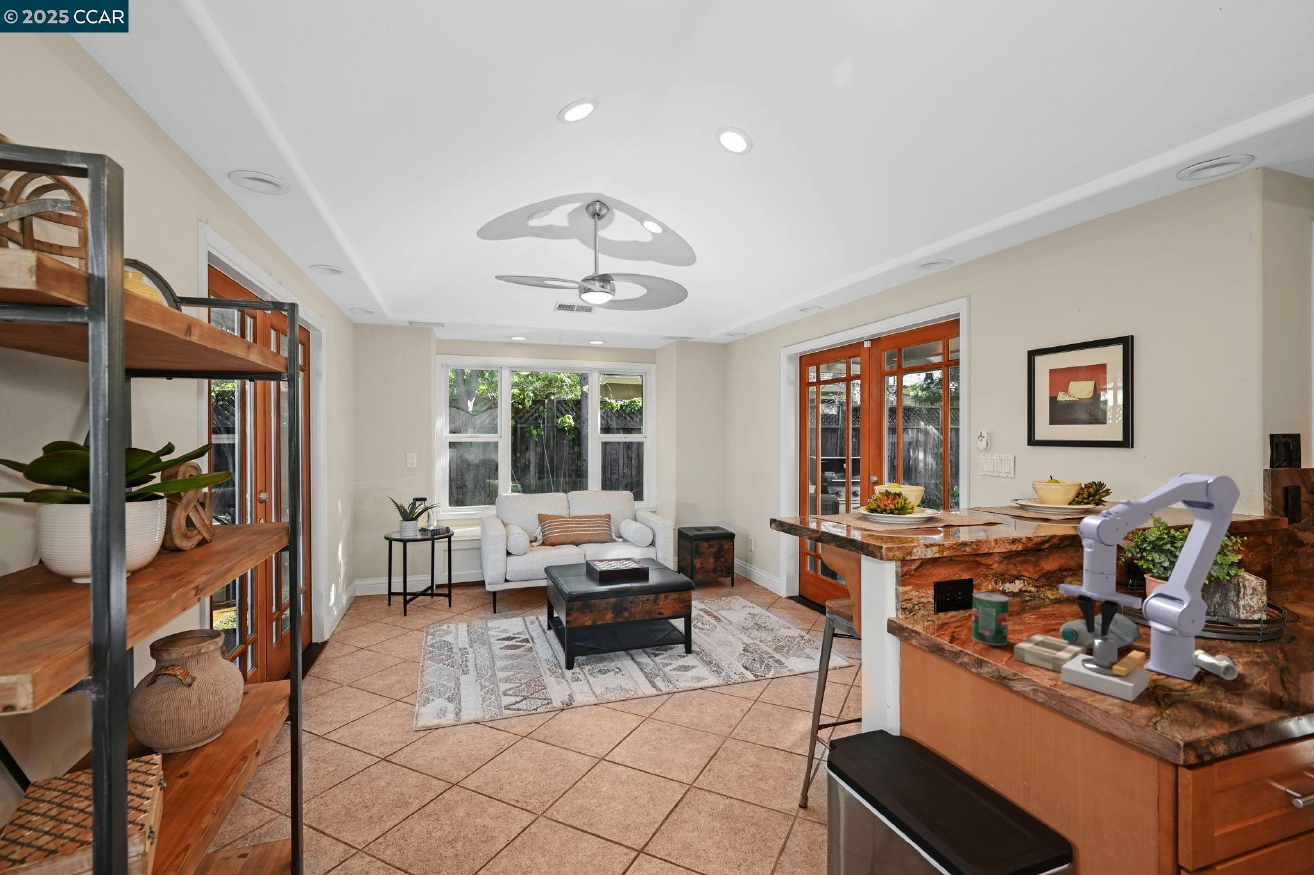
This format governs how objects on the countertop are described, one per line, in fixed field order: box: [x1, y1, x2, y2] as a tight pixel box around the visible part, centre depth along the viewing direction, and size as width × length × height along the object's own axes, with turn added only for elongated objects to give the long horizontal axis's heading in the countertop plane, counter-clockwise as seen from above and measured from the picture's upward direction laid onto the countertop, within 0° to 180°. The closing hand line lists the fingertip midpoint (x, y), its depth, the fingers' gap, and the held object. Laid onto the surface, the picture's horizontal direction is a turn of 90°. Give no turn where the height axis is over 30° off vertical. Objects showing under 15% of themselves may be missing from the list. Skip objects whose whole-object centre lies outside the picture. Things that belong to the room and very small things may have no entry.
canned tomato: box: [971, 591, 1010, 646], centre depth 151 cm, size 8×8×11 cm
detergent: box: [1059, 612, 1143, 650], centre depth 147 cm, size 13×7×25 cm
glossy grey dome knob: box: [1081, 637, 1129, 676], centre depth 126 cm, size 8×8×9 cm
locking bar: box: [1113, 649, 1146, 676], centre depth 126 cm, size 15×2×1 cm, turn 129°
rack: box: [1013, 633, 1087, 673], centre depth 139 cm, size 14×10×3 cm
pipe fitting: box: [1194, 649, 1239, 681], centre depth 133 cm, size 8×4×7 cm
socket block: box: [1060, 654, 1150, 702], centre depth 126 cm, size 12×12×3 cm
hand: (1097, 633), depth 132 cm, fingers closed
